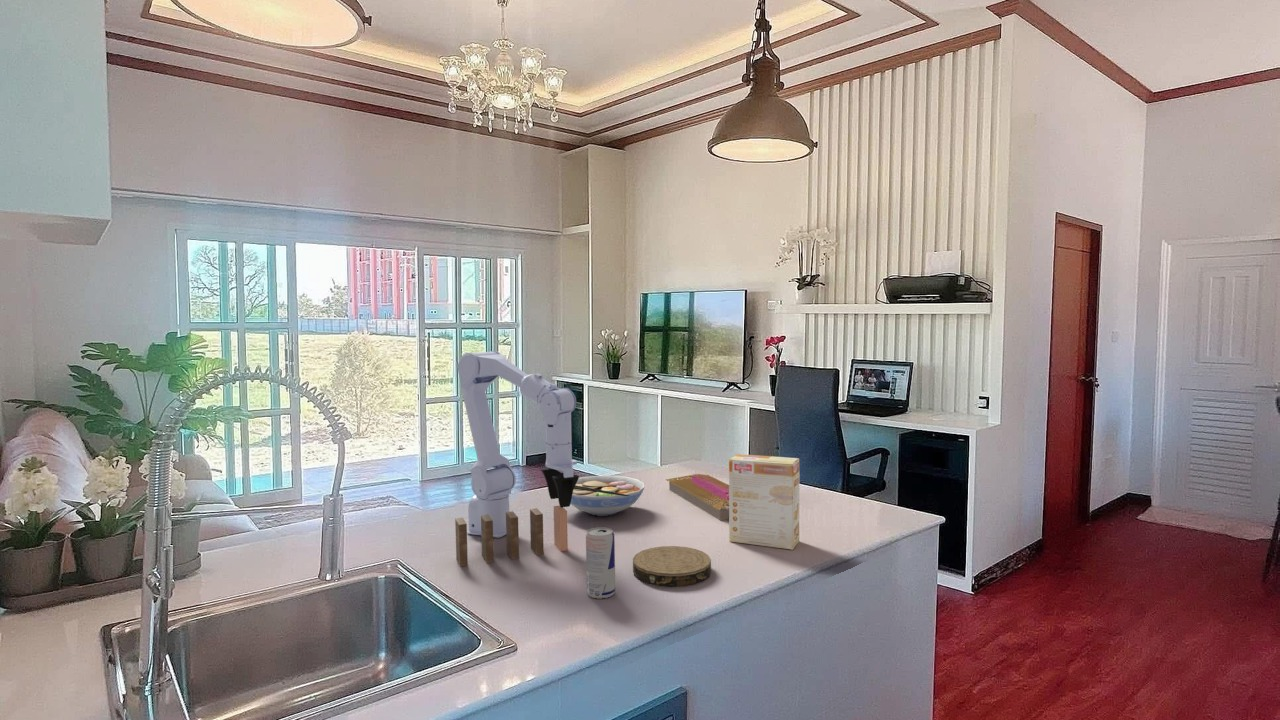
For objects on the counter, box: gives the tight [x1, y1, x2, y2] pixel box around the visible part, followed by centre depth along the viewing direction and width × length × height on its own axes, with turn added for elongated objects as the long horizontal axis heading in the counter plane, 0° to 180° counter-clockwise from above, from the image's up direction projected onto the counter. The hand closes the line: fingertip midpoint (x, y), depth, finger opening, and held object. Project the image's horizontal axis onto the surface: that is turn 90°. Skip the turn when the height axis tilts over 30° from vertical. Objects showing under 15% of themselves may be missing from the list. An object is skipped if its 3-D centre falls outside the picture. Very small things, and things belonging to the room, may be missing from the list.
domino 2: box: [480, 514, 495, 564], centre depth 149 cm, size 2×5×9 cm, turn 24°
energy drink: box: [585, 526, 616, 600], centre depth 130 cm, size 5×5×12 cm
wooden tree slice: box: [632, 545, 712, 588], centre depth 141 cm, size 16×16×3 cm
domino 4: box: [529, 508, 545, 556], centre depth 154 cm, size 2×5×9 cm, turn 24°
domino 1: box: [454, 517, 469, 567], centre depth 147 cm, size 2×5×9 cm, turn 23°
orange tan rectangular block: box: [553, 504, 569, 552], centre depth 156 cm, size 2×5×9 cm, turn 24°
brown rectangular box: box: [665, 473, 729, 522], centre depth 193 cm, size 35×14×6 cm, turn 20°
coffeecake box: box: [728, 453, 801, 551], centre depth 158 cm, size 15×7×20 cm, turn 65°
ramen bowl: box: [570, 475, 646, 517], centre depth 183 cm, size 25×23×8 cm
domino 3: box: [505, 510, 520, 560], centre depth 152 cm, size 2×5×9 cm, turn 23°
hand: (559, 502), depth 156 cm, fingers open, 7 cm apart
